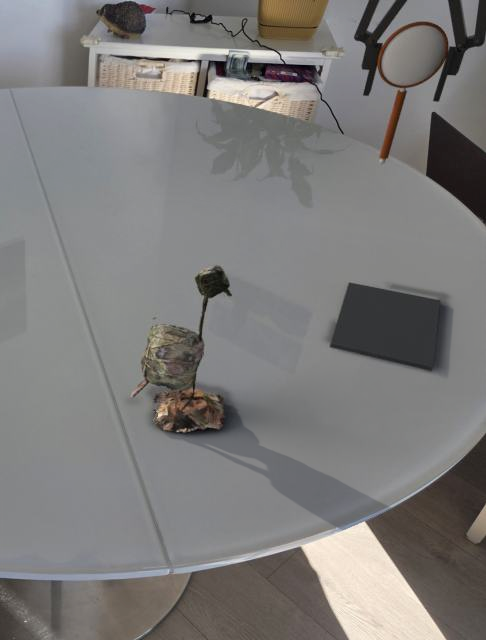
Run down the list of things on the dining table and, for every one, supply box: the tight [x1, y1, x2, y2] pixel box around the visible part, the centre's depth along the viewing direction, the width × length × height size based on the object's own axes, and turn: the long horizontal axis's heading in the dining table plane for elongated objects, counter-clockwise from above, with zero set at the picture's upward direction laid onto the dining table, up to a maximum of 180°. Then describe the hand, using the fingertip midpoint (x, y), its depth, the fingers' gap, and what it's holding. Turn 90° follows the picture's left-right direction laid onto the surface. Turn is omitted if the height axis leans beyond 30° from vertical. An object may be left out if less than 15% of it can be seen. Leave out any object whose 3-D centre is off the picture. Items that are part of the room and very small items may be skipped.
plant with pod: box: [130, 264, 233, 433], centre depth 72 cm, size 8×11×20 cm
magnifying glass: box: [377, 21, 450, 165], centre depth 92 cm, size 9×2×20 cm, turn 79°
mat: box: [329, 282, 441, 372], centre depth 88 cm, size 12×16×1 cm
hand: (401, 95), depth 92 cm, fingers closed on magnifying glass, 8 cm apart
